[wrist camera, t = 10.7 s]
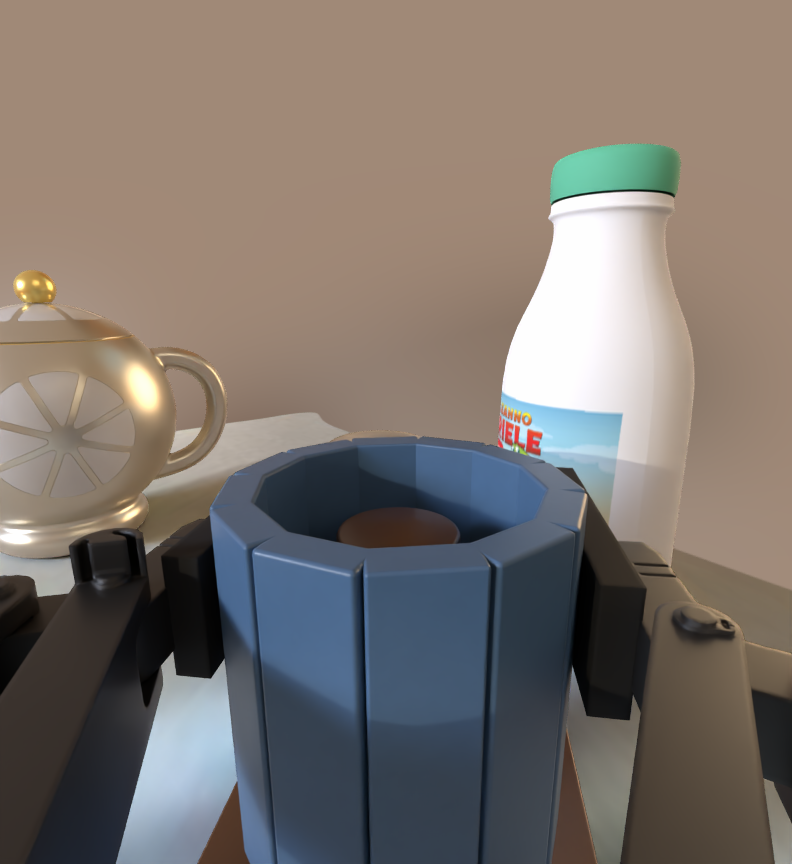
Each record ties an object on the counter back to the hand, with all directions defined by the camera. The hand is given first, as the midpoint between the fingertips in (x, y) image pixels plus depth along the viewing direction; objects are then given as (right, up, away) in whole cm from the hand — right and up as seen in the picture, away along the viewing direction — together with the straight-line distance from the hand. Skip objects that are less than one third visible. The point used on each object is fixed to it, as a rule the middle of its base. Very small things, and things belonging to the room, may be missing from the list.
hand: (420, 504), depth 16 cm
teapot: (-21, -4, +19) cm, 28 cm away
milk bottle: (+8, -7, +9) cm, 14 cm away
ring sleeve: (-1, -7, -3) cm, 7 cm away
